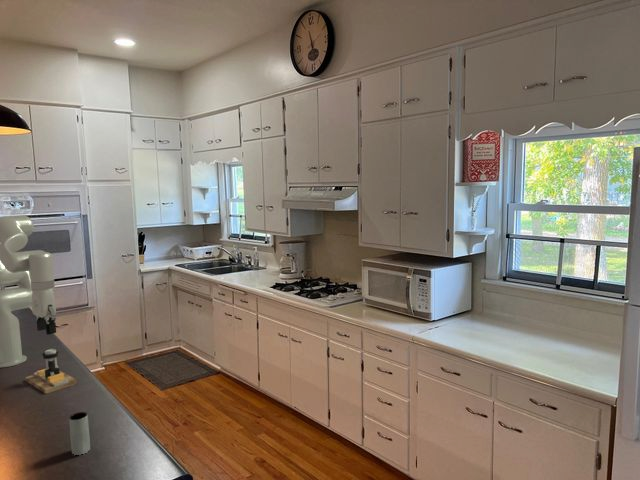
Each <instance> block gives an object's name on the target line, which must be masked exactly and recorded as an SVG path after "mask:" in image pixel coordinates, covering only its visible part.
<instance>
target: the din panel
mask: <svg viewBox="0 0 640 480" xmlns="http://www.w3.org/2000/svg"><path fill="white" fill-rule="evenodd" d="M59 373H63V374H64V378H65V379H67V380H69V382H68V383H65V384H62V385H59V386H56V387H54V386H52V385H50V384H49V383H47V382H45V381H43V380H42V379H40V378H38V377H37V376H35V375H34V374H32V375H28V376H25V379H24V380H25V382H26V383H28V384H30V385H32V386H33V387H35V388H36V389H37V390H38V391H41V392H43V393H44V394H49V393H53V392H56V391H59V390H62V389H65V388H68V387H71V386H74V385H77V384H78V379H76V378H75V377H73V376H70V375H69V374H67V373H65V372H63V371H62V370H59Z"/></svg>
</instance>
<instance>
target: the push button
mask: <svg viewBox="0 0 640 480" xmlns="http://www.w3.org/2000/svg"><path fill="white" fill-rule="evenodd" d="M41 355H42V357H43V359H45V367H46V368H45V369H46V370H45V373H43V374H45V376H40V377H46V378H48V377H50V376H53V375H57V374H60V373H59V371H60V368H59V366H58V360H57V357H58V356H59V350H57V349H56V348H49V349H45V351H44V352H43V353H42V354H41ZM48 368H49V369H48ZM43 374H40V375H43Z"/></svg>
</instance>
